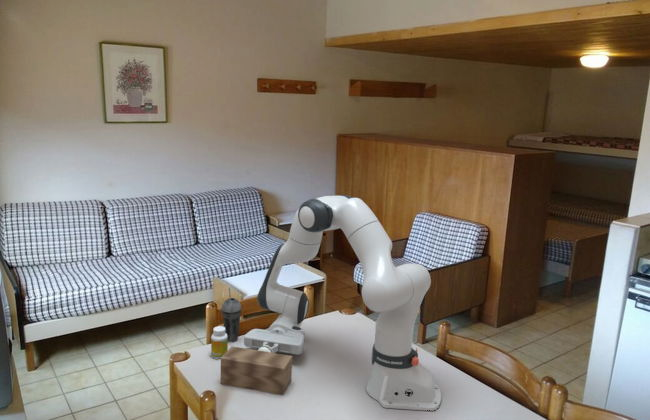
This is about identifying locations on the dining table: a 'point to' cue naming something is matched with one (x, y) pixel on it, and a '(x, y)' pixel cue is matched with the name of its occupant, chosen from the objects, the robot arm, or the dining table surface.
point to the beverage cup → (231, 317)
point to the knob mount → (256, 370)
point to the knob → (265, 348)
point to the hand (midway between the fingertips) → (266, 352)
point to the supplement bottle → (219, 342)
